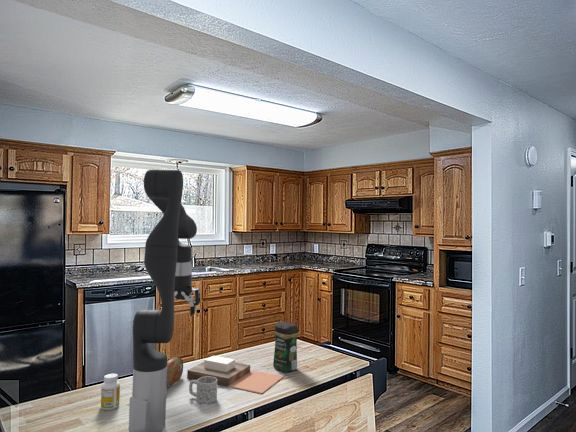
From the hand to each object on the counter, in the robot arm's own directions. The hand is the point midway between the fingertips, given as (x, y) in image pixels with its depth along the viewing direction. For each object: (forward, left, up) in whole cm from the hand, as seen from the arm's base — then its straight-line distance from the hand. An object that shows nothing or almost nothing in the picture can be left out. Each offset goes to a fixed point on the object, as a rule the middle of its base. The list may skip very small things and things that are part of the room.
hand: (181, 314), depth 162 cm
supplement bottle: (-31, +2, -24) cm, 39 cm away
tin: (-7, -2, -24) cm, 25 cm away
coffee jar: (+27, -32, -24) cm, 48 cm away
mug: (-13, -20, -24) cm, 33 cm away
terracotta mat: (+9, -28, -23) cm, 38 cm away
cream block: (+8, -13, -20) cm, 25 cm away
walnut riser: (+8, -13, -23) cm, 28 cm away
